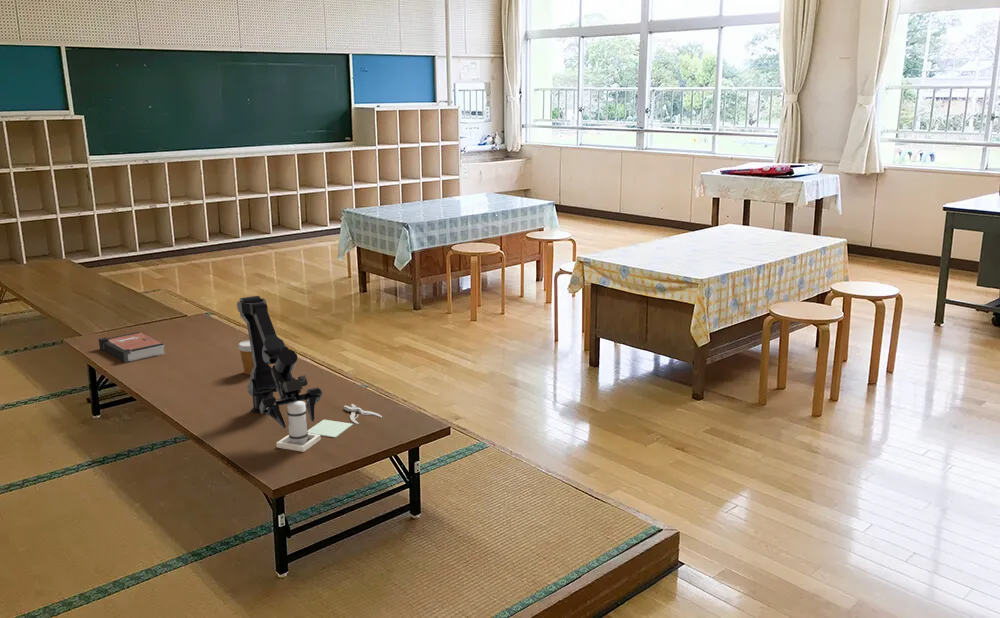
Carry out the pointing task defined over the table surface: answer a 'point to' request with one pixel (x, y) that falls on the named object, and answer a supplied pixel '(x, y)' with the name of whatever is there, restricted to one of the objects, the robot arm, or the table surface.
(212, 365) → the table surface
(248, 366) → the disposable coffee cup
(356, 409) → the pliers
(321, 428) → the mat
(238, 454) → the table surface
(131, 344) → the book
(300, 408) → the grey-banded white cylinder
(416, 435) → the table surface
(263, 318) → the robot arm
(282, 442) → the white square frame
